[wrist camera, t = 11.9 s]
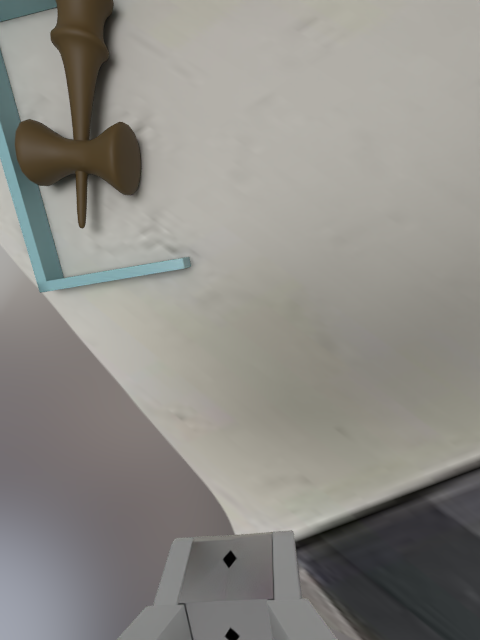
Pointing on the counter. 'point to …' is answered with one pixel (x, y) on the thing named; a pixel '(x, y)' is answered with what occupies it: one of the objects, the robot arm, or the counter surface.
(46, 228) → the open rectangular frame
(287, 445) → the counter surface
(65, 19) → the kendama
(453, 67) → the counter surface
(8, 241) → the counter surface
